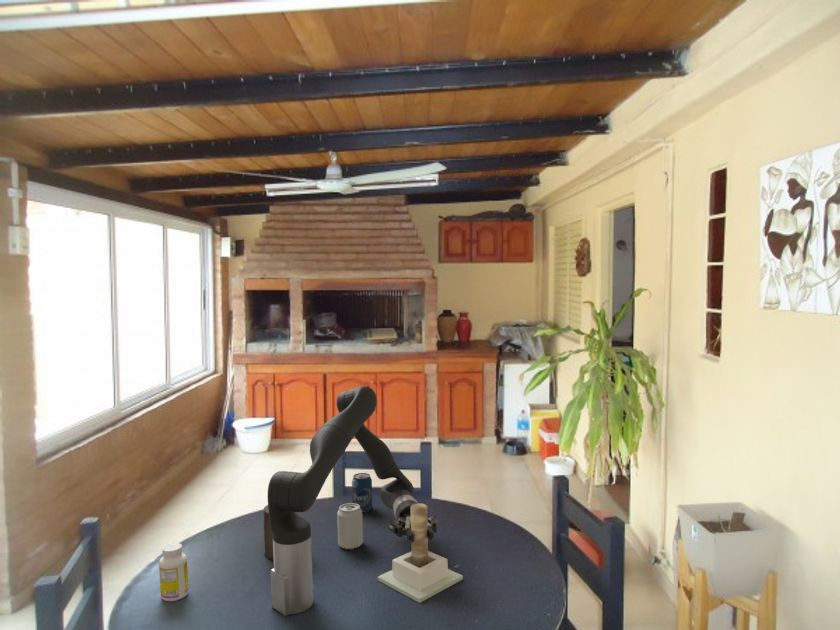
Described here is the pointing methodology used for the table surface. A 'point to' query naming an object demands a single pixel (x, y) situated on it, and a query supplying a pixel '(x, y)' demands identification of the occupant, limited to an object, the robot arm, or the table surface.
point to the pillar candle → (268, 535)
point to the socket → (420, 576)
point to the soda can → (362, 491)
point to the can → (350, 526)
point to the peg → (419, 535)
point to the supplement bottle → (173, 573)
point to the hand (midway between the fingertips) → (421, 537)
